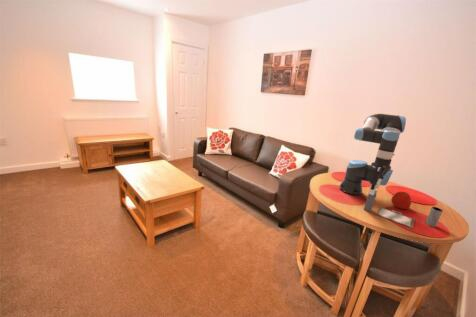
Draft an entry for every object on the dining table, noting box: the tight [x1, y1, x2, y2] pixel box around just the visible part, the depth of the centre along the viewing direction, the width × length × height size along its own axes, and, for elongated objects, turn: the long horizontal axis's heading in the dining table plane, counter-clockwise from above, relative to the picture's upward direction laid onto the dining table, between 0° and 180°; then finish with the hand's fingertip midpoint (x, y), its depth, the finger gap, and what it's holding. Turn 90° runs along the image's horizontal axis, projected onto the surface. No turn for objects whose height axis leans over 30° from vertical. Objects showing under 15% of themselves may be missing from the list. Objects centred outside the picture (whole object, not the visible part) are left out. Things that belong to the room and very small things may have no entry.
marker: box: [363, 189, 378, 213], centre depth 128 cm, size 4×4×14 cm
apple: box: [390, 191, 412, 210], centre depth 135 cm, size 10×10×10 cm
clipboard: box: [374, 206, 416, 230], centre depth 124 cm, size 18×13×1 cm
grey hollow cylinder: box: [425, 206, 443, 228], centre depth 117 cm, size 4×4×10 cm
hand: (373, 191), depth 125 cm, fingers open, 13 cm apart
